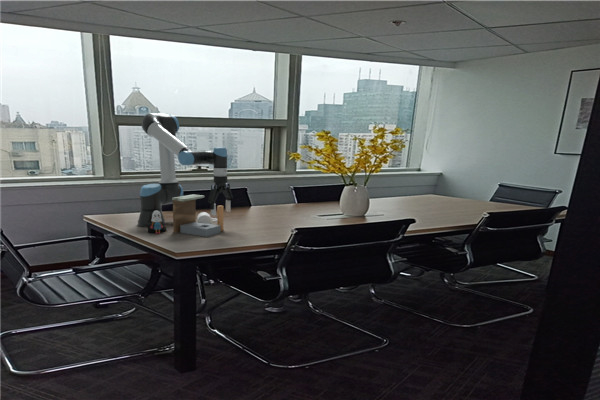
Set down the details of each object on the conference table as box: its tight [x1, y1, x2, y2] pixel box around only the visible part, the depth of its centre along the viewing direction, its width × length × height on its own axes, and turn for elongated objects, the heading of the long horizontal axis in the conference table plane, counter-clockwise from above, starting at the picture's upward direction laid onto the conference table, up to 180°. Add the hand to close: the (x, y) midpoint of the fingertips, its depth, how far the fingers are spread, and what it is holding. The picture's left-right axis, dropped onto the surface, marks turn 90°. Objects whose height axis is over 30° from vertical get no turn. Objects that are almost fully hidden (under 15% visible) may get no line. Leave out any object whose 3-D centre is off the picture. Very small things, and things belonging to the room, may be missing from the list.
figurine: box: [147, 210, 167, 235], centre depth 239 cm, size 10×11×12 cm
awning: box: [172, 193, 205, 234], centre depth 244 cm, size 8×17×19 cm, turn 153°
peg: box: [216, 205, 225, 232], centre depth 247 cm, size 3×3×14 cm
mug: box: [196, 211, 217, 224], centre depth 256 cm, size 12×10×8 cm
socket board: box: [179, 221, 221, 237], centre depth 241 cm, size 18×12×4 cm, turn 63°
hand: (220, 213), depth 246 cm, fingers open, 13 cm apart
